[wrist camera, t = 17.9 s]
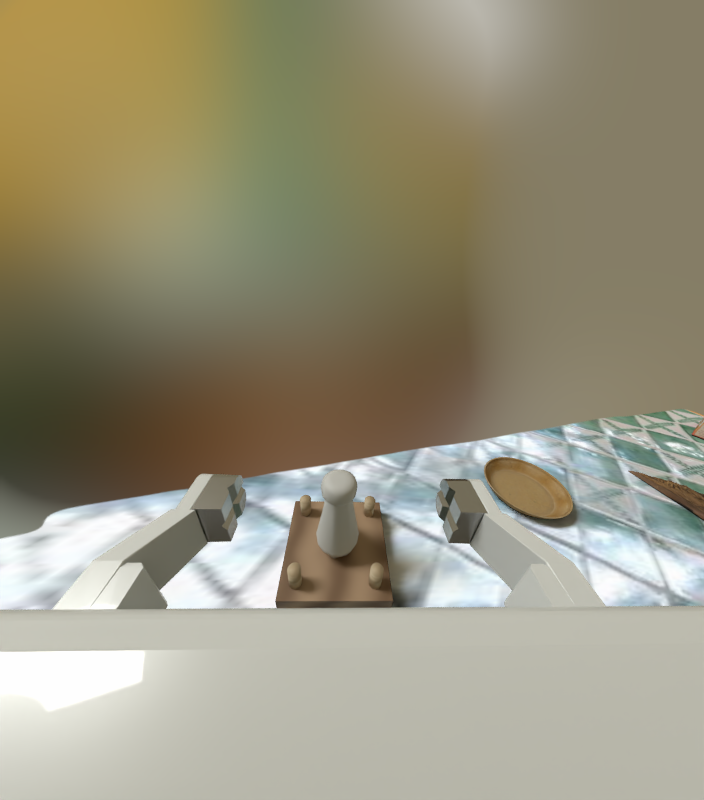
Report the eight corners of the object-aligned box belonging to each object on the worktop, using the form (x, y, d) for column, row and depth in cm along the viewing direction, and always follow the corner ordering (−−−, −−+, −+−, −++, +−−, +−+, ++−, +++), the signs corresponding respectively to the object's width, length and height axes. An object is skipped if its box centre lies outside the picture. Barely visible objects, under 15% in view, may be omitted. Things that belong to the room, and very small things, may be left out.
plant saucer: (573, 495, 50) (579, 486, 48) (557, 545, 41) (564, 535, 39) (495, 456, 59) (499, 447, 58) (468, 489, 50) (471, 480, 48)
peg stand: (277, 611, 31) (272, 588, 28) (296, 511, 43) (294, 488, 40) (390, 610, 32) (396, 588, 29) (377, 512, 44) (381, 490, 41)
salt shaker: (346, 519, 40) (350, 456, 33) (364, 553, 35) (373, 488, 29) (310, 534, 37) (308, 470, 31) (325, 573, 33) (326, 506, 26)
